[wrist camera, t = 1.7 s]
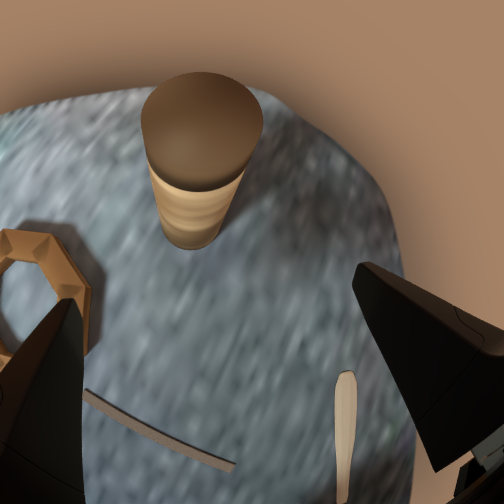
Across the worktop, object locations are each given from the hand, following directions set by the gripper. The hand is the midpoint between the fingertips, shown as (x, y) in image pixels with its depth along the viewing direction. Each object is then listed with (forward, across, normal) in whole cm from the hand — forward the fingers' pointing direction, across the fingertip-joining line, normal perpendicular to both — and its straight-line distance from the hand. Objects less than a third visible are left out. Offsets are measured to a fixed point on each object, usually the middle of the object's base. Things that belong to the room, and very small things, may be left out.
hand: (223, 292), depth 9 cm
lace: (+2, +5, +15) cm, 16 cm away
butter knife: (-6, -9, +23) cm, 26 cm away
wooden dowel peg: (+13, 0, +4) cm, 13 cm away
